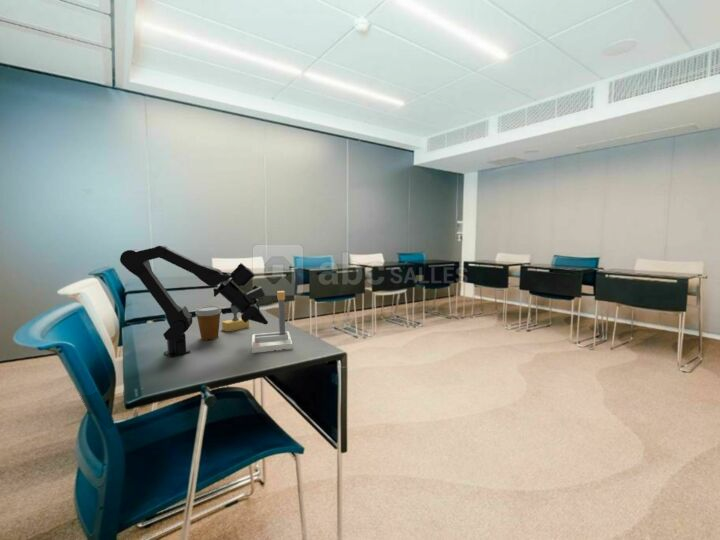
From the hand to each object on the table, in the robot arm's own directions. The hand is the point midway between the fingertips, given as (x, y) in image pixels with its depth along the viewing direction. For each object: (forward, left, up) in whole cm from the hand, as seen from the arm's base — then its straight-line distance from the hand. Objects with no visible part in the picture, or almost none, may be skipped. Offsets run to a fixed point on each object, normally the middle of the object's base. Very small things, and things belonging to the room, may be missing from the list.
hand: (267, 323), depth 124 cm
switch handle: (+3, +4, -6) cm, 8 cm away
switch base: (+1, +1, -8) cm, 8 cm away
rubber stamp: (-30, +5, -8) cm, 31 cm away
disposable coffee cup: (-26, -9, -8) cm, 28 cm away
